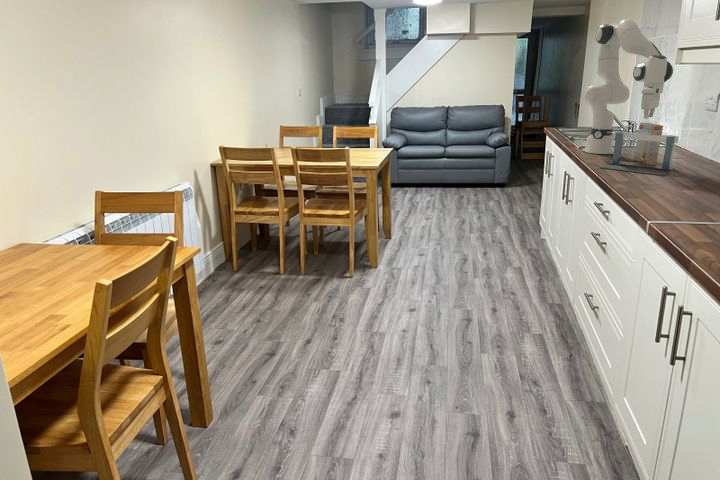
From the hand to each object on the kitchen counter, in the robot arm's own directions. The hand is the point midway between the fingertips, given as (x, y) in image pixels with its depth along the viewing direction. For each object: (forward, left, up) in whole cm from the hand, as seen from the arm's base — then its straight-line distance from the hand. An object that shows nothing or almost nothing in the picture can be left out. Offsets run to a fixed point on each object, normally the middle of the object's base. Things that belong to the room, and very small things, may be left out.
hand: (648, 117), depth 275 cm
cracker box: (-14, -1, -25) cm, 29 cm away
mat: (+12, 0, -25) cm, 28 cm away
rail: (0, 0, -11) cm, 11 cm away
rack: (0, 0, -25) cm, 25 cm away
